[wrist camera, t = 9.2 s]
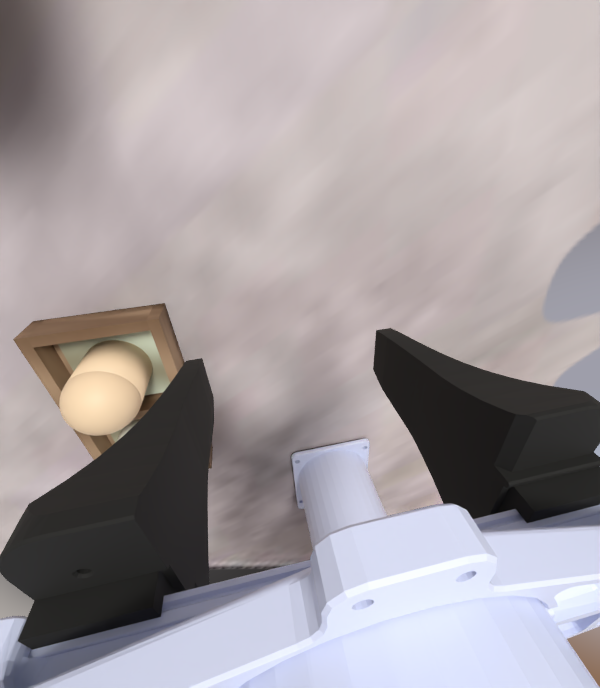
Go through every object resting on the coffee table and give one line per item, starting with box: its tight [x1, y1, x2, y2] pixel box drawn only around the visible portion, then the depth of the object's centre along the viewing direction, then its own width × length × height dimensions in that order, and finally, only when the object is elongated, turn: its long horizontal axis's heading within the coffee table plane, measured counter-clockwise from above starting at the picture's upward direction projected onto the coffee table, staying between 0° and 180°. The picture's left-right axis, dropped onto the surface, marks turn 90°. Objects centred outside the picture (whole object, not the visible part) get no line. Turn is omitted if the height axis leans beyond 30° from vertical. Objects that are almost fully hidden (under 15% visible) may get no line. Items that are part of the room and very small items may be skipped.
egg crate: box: [13, 303, 213, 469], centre depth 23 cm, size 14×8×2 cm, turn 3°
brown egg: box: [59, 340, 153, 436], centre depth 19 cm, size 4×4×6 cm
